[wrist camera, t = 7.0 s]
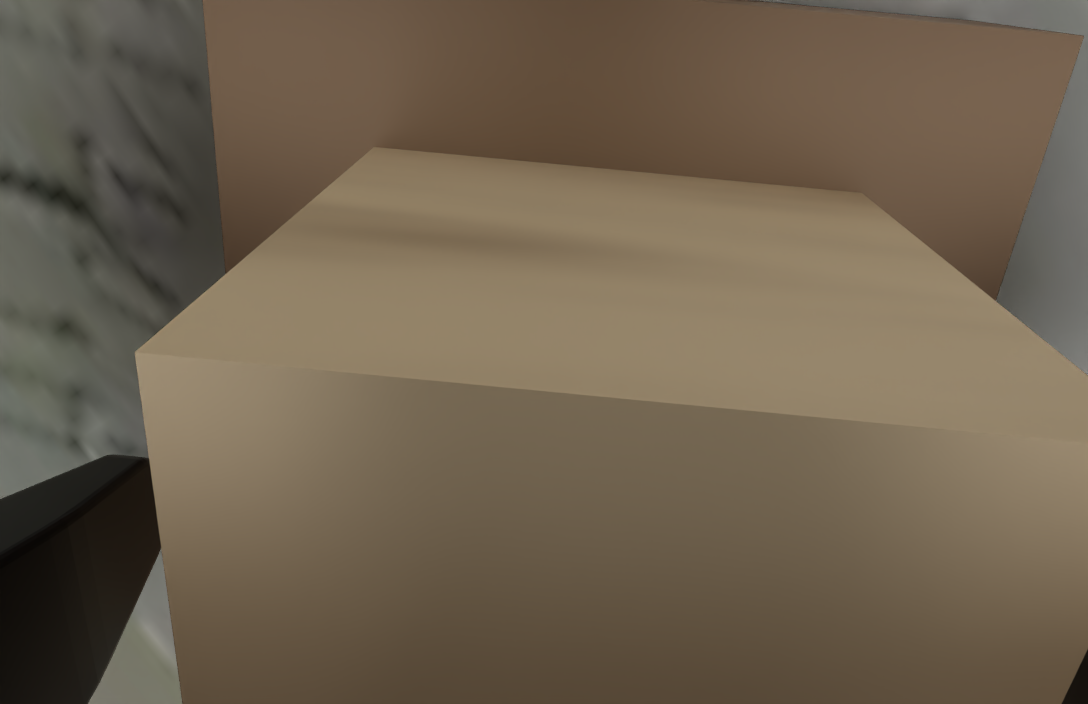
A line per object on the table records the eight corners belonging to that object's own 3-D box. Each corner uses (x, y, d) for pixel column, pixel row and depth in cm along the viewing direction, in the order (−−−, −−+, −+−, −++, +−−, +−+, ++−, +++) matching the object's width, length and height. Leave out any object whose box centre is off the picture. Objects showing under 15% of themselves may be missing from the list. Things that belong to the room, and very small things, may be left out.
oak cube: (765, 579, 13) (902, 1036, 7) (375, 542, 13) (219, 970, 7) (861, 193, 10) (1181, 452, 5) (374, 147, 10) (135, 352, 5)
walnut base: (818, 568, 16) (866, 688, 14) (310, 520, 16) (255, 630, 14) (970, 20, 12) (1083, 35, 9) (284, -42, 12) (198, -45, 9)
